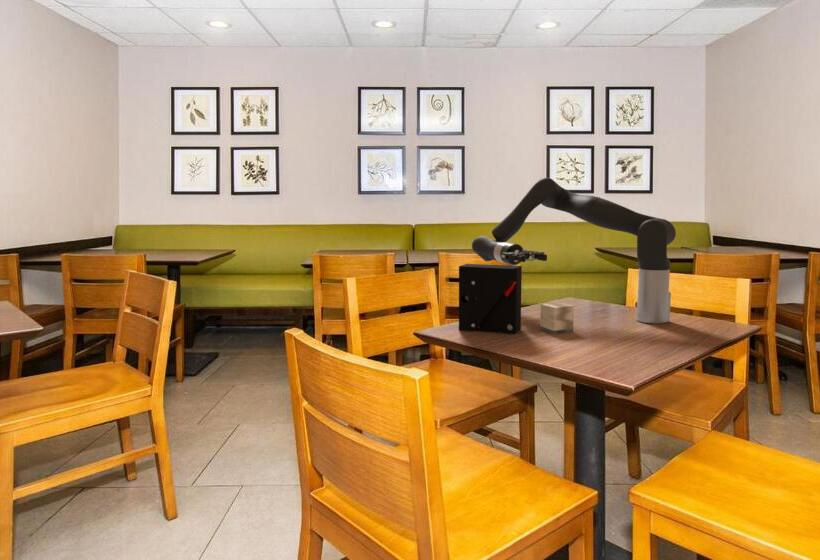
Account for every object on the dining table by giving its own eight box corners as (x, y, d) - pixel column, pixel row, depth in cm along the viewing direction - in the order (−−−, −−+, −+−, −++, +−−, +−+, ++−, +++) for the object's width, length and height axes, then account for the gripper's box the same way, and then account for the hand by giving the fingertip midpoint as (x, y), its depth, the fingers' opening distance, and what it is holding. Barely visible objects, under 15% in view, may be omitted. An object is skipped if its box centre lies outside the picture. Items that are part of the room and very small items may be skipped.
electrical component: (522, 328, 172) (523, 265, 170) (514, 336, 163) (515, 268, 160) (468, 324, 180) (469, 263, 177) (458, 330, 170) (458, 266, 168)
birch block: (558, 327, 174) (559, 302, 173) (573, 331, 168) (573, 305, 167) (540, 329, 172) (540, 303, 170) (553, 334, 165) (554, 307, 164)
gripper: (491, 243, 195) (518, 248, 181) (525, 242, 201) (553, 246, 186) (491, 264, 197) (517, 270, 182) (524, 262, 202) (552, 268, 188)
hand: (535, 258), depth 184 cm, fingers open, 8 cm apart
